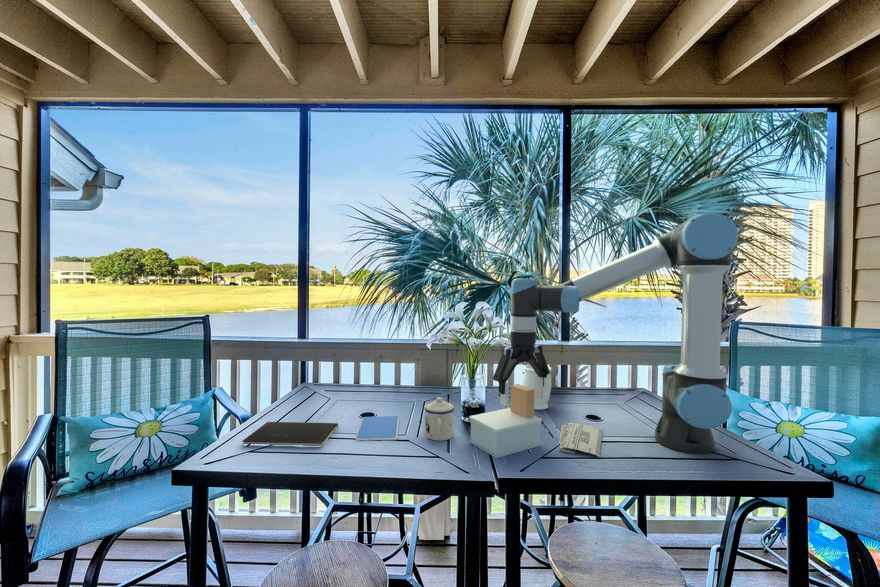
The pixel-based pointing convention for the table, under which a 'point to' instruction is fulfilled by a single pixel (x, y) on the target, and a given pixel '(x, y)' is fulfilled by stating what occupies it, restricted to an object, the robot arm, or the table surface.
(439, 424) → the teacup with lid
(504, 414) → the lid
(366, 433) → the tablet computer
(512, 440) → the parts tub
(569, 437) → the newspaper
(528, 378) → the jar
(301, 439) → the hardcover book
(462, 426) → the table surface
